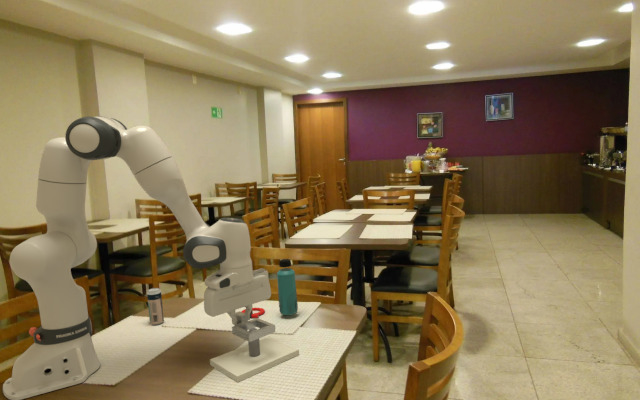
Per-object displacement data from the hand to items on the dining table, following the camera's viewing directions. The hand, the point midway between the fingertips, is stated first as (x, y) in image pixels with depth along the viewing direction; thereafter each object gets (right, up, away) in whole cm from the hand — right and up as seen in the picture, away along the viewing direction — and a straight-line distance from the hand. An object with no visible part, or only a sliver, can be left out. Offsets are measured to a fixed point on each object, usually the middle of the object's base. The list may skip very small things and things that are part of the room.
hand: (241, 322), depth 127 cm
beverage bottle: (+12, -6, +29) cm, 31 cm away
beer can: (-34, -8, +29) cm, 46 cm away
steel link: (+3, -2, -3) cm, 4 cm away
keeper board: (+5, -9, -3) cm, 11 cm away
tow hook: (-2, -6, +33) cm, 33 cm away
